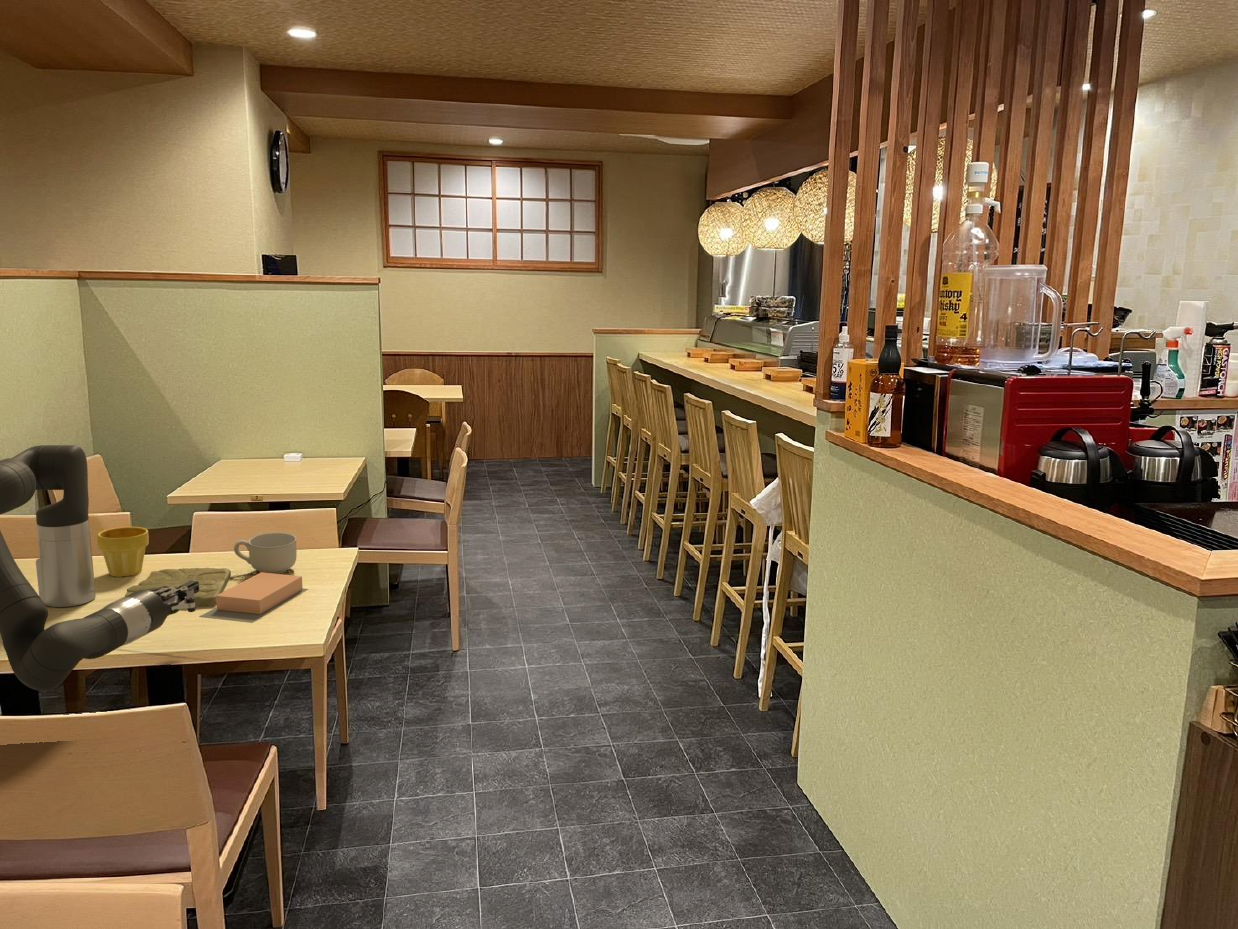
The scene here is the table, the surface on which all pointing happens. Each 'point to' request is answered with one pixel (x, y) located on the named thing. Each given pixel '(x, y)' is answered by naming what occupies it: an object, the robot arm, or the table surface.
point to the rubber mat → (242, 615)
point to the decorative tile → (208, 578)
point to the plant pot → (123, 549)
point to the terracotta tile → (259, 593)
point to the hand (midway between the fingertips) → (195, 585)
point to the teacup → (270, 552)
